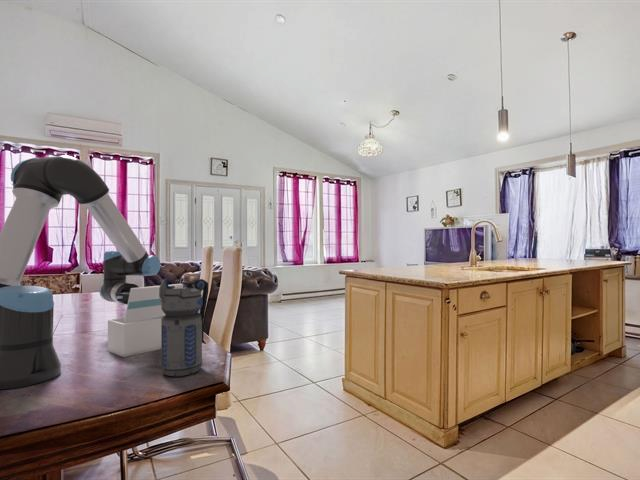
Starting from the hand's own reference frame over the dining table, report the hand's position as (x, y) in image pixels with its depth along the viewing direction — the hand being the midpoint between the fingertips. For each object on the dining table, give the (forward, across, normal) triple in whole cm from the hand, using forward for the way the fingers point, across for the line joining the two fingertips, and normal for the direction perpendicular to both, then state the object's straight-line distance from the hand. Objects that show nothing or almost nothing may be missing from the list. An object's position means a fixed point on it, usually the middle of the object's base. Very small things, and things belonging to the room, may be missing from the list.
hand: (159, 298), depth 116 cm
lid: (+1, +2, -1) cm, 2 cm away
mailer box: (-8, +2, -17) cm, 19 cm away
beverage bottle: (+24, +6, -17) cm, 30 cm away
